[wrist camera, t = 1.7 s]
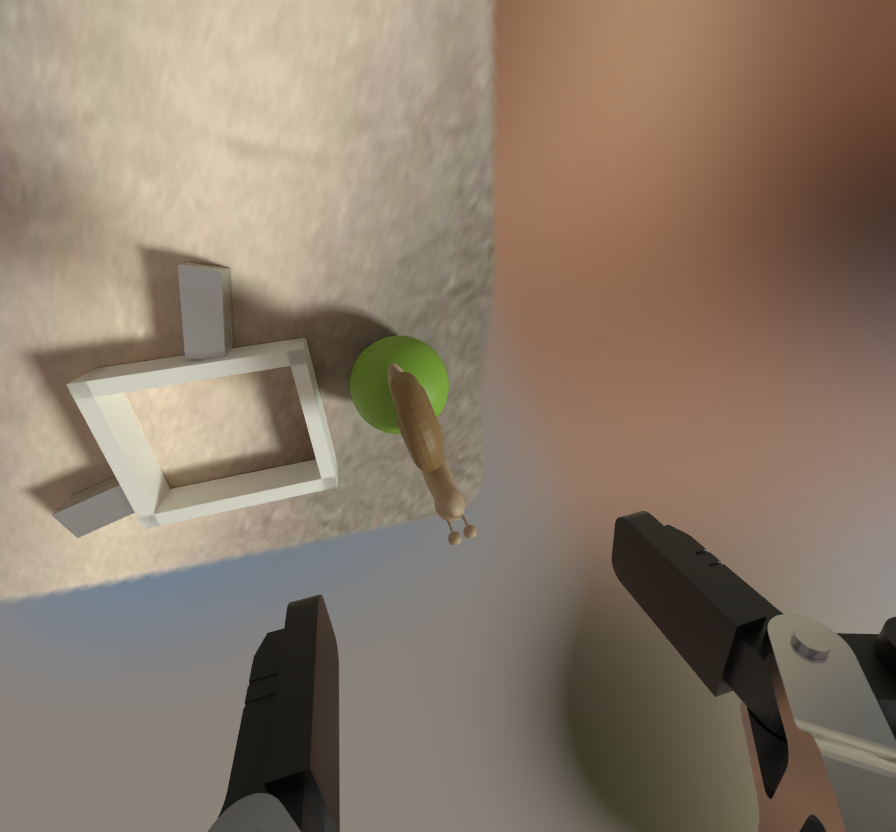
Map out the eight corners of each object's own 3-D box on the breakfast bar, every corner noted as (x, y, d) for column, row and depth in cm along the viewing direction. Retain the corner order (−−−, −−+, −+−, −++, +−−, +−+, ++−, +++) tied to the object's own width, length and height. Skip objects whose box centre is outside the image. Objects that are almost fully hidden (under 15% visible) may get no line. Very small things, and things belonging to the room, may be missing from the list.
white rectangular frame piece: (-55, 289, 18) (-109, 296, 16) (284, 251, 21) (278, 254, 19) (85, 519, 24) (60, 548, 22) (338, 467, 27) (338, 488, 24)
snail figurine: (375, 436, 26) (402, 572, 16) (333, 346, 23) (331, 440, 13) (452, 405, 27) (528, 517, 16) (419, 312, 24) (487, 376, 13)
